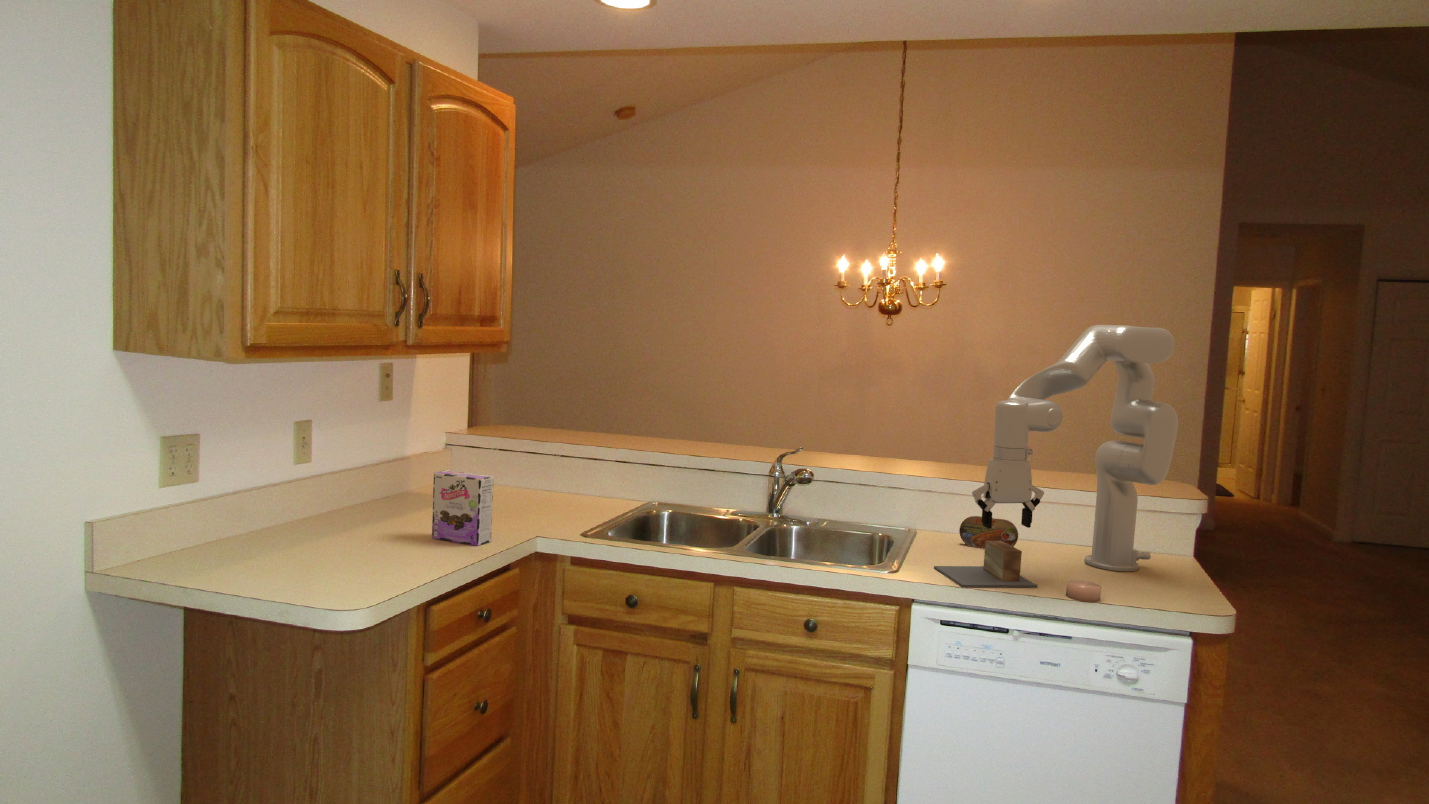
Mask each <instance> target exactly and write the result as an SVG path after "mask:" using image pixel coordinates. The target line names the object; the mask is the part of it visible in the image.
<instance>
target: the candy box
mask: <svg viewBox="0 0 1429 804" xmlns="http://www.w3.org/2000/svg"><path fill="white" fill-rule="evenodd" d="M494 480H495V476H494V475H489V474H488V475H486V474H478V473H471V472H464V471H456V470H451V469H446V470H441V471H437V472H433V489H432V491H433V492H432V495H433V497H432V519H431V520H432V523H431V524H432V525H431V528H432V529H431V539H435V540H440V541H445V542H453V543H459V544H465V545H469V546H476V547H477V546H478V547H479V546H481V545H482V546H483V545H485V544H489V543H492V526H493V525H492V521H493V520H492V519H493V504H494V503H493V499H494Z"/></svg>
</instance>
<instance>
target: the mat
mask: <svg viewBox="0 0 1429 804" xmlns="http://www.w3.org/2000/svg"><path fill="white" fill-rule="evenodd" d="M983 568H984V565H983V566H982V565H981V566H980V565H979V566H978V565H974V566H973V565H933V570H935V571H937V572H938V573H940V574H942V575H943V576H944V577H946V578H947V579H949V580H950V581H951V582H953V583H955V584H956V585H958V586H959V587H960V588H974V589H975V588H994V589H995V588H999V589H1000V588H1004V589H1005V588H1006V589H1007V588H1009V589H1011V588H1013V589H1014V588H1016V589H1017V588H1018V589H1019V588H1020V589H1022V588H1023V589H1025V588H1026V589H1027V588H1029V589H1031V588H1032V589H1035V588H1037V589H1038V584H1036V583H1034V582H1032V581H1031V580H1029V579H1028V578H1026V577H1023V576H1022V575H1020V580H1019V581H1002V580H1000V579H998V578H997V577H995V576H993V575H992V574H990V573H988V572H987V571H985V570H983Z"/></svg>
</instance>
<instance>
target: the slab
mask: <svg viewBox="0 0 1429 804" xmlns="http://www.w3.org/2000/svg"><path fill="white" fill-rule="evenodd" d="M1022 552H1023V551H1022V550H1020V549H1018V548H1016V547H1015V546H1014V547H1012V546H1010V545H1008V544H1006V543H1005V542H1003V541H986V542H985V549H984V556H983V557H984V558H983V566H984V568H983V570H985V571H987V572H988V573H990V574H992V575H993V576H995V577H997V578H998V579H1000V580H1002V581H1019V580H1020V576H1021V565H1022V555H1023V554H1022Z"/></svg>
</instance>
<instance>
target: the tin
mask: <svg viewBox="0 0 1429 804" xmlns="http://www.w3.org/2000/svg"><path fill="white" fill-rule="evenodd" d="M958 532H959V537H960V539H961V541H962V542H963V543H964V544H965V545H967V546H968V547H971V548H975V549H982V548H983V549H984V550H985V542H986V541H1003V542H1005V543H1006V544H1008V545H1010V546H1012V547H1014V548H1015V546H1016V545H1017V542H1018V540H1019V531H1018V528H1017V527H1016V525H1015V524H1014V523H1013V522H1012V521H1010V520H1008V519H1005V518H1003V519H1002V518H995V517H992V528H991V529H988V528H986V527H984V526H983V524H982V516H980V515H979V516H978V515H973V516H972V515H971V516H968V517H966V518H965V519H964V520H963V521H962V522H961V524H960V525H959V530H958Z"/></svg>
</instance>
